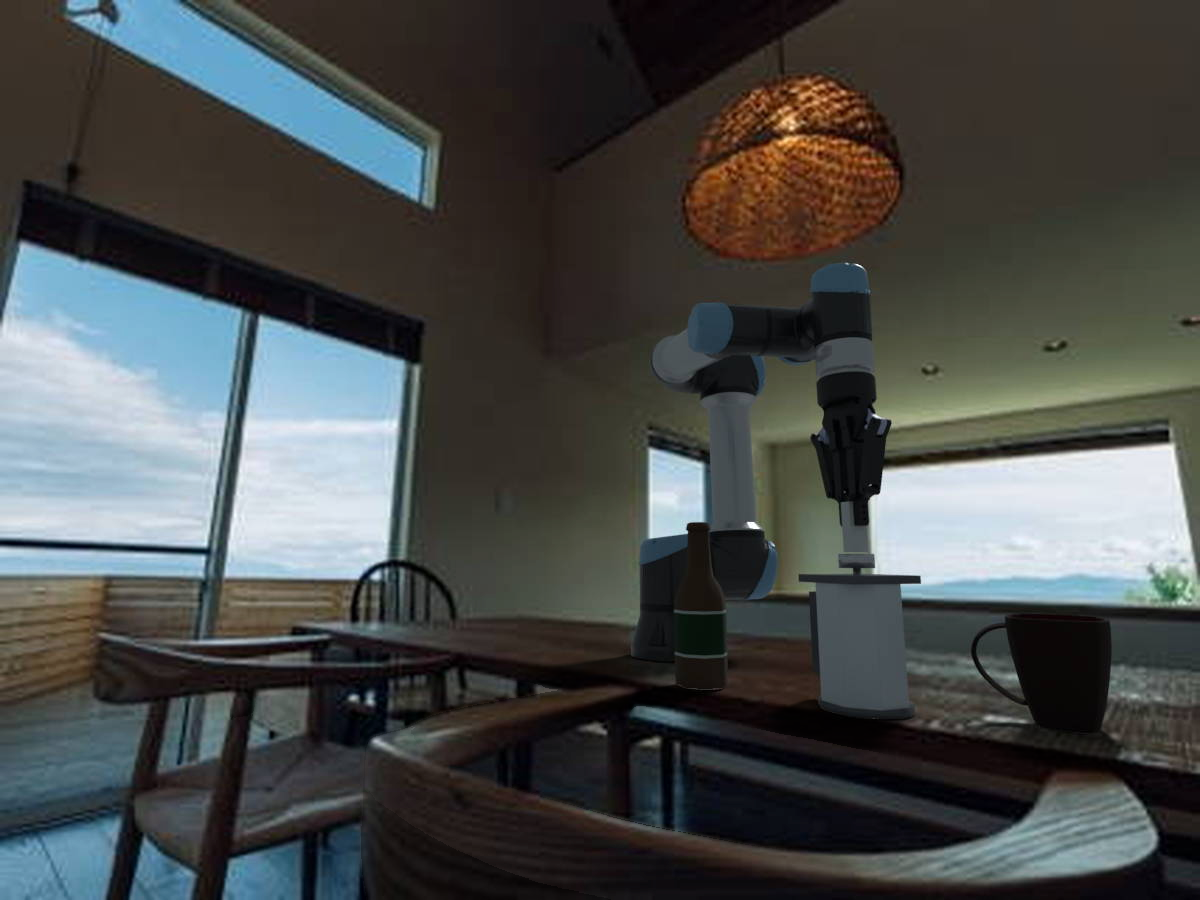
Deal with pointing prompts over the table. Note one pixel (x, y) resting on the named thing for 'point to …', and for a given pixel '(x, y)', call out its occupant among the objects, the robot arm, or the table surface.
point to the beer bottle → (700, 618)
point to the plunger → (856, 562)
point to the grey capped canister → (860, 644)
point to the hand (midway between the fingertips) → (856, 551)
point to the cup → (1058, 668)
